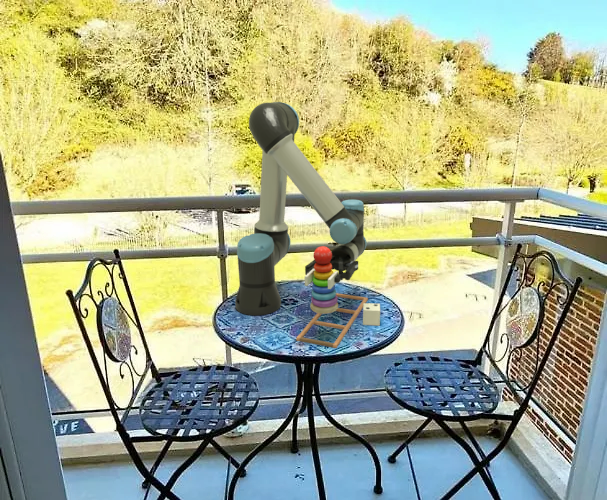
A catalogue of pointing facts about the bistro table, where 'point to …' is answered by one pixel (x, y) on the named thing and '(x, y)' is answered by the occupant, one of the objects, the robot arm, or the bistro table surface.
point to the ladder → (345, 328)
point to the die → (371, 314)
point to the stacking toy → (323, 283)
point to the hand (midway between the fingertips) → (317, 282)
